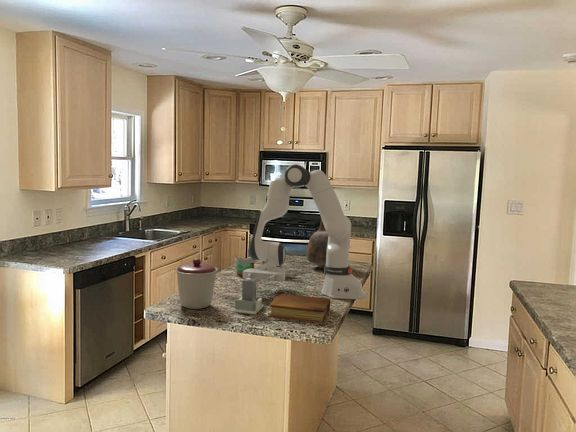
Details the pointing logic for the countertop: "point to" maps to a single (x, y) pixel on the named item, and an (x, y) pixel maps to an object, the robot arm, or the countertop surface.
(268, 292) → the countertop surface
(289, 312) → the diary
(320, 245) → the jug
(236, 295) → the countertop surface
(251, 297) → the grey block with knob
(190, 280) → the canister
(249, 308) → the pocket
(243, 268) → the food container
